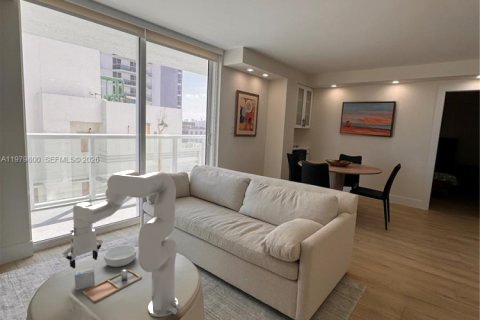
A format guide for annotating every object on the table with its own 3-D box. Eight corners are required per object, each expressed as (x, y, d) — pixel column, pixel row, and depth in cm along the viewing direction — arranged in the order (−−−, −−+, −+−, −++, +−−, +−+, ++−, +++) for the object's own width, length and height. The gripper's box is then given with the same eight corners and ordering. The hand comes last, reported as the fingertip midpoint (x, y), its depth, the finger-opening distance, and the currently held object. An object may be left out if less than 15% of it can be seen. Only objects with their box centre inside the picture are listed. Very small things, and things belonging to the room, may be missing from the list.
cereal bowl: (128, 272, 135) (127, 260, 134) (97, 271, 135) (97, 258, 135) (141, 256, 152) (141, 245, 151) (114, 255, 152) (114, 244, 151)
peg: (128, 279, 127) (128, 270, 126) (123, 282, 125) (123, 272, 124) (125, 277, 128) (125, 268, 128) (120, 279, 126) (120, 270, 126)
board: (142, 281, 128) (142, 277, 128) (95, 306, 109) (95, 302, 109) (128, 272, 135) (128, 268, 135) (81, 294, 116) (81, 290, 116)
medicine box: (94, 283, 125) (94, 266, 124) (94, 288, 121) (94, 271, 120) (76, 287, 121) (75, 270, 120) (75, 292, 117) (74, 275, 116)
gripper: (65, 237, 108) (67, 274, 111) (106, 225, 122) (106, 258, 125) (58, 232, 113) (60, 268, 115) (98, 221, 127) (99, 253, 129)
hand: (84, 263), depth 120 cm, fingers open, 9 cm apart
